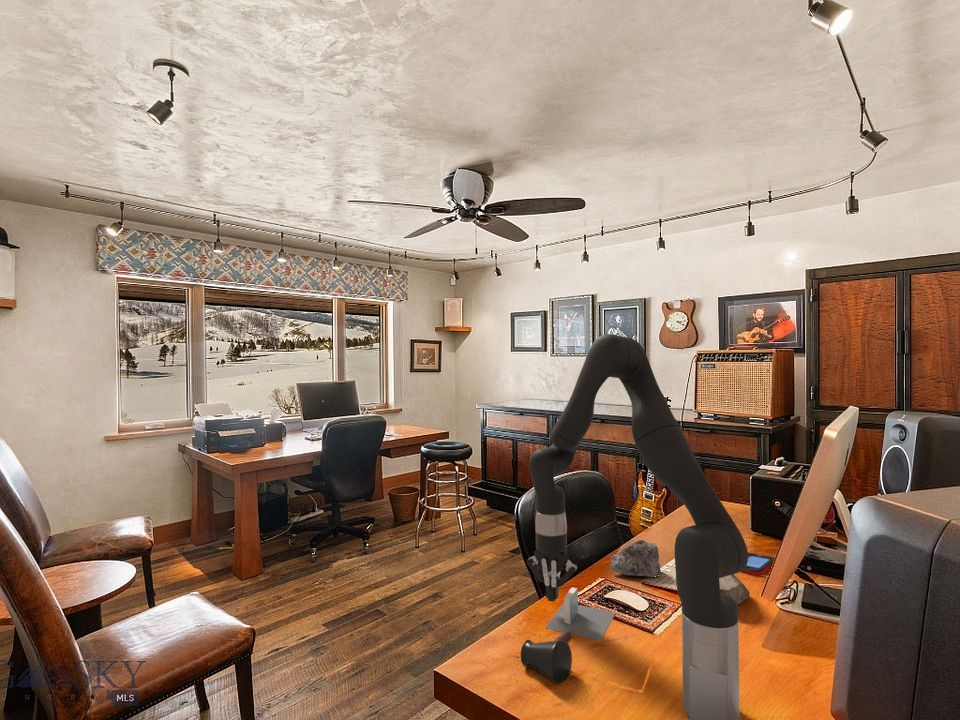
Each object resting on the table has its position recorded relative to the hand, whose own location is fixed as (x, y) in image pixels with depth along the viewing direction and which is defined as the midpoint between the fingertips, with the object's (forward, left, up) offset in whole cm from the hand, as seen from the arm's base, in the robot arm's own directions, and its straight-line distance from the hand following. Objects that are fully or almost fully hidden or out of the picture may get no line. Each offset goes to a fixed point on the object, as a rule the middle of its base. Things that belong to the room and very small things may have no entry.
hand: (552, 600), depth 127 cm
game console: (+54, -42, -5) cm, 68 cm away
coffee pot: (-17, -7, -4) cm, 19 cm away
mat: (0, -7, -4) cm, 8 cm away
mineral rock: (+34, -14, -4) cm, 37 cm away
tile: (0, -5, -3) cm, 6 cm away
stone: (+25, -38, -4) cm, 46 cm away
